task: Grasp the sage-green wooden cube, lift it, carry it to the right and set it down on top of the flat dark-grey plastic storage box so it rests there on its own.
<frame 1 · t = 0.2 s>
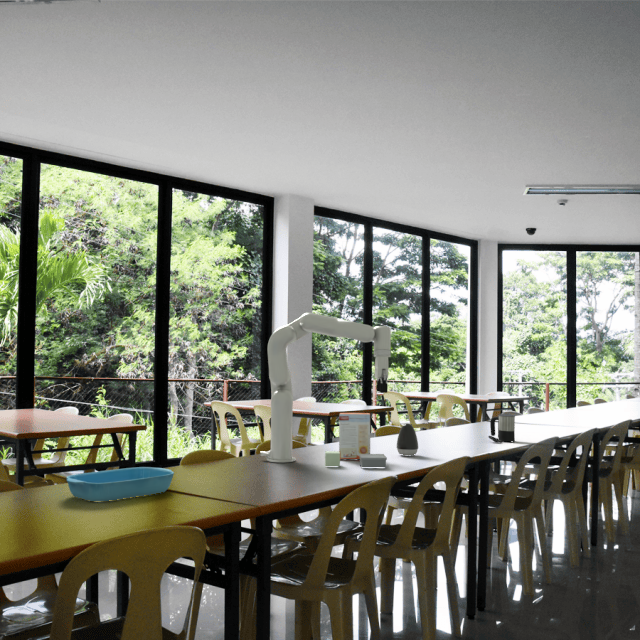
hand: (381, 392, 305), 31 cm above the table, tool pointing down, fingers open, 9 cm apart
cracker box: (354, 460, 309), on the table
casserole dish: (121, 495, 228), on the table
green cube: (332, 466, 289), on the table
grey storage box: (372, 467, 289), on the table
dark grey rounded piece: (407, 456, 322), on the table
milk frother: (501, 442, 378), on the table
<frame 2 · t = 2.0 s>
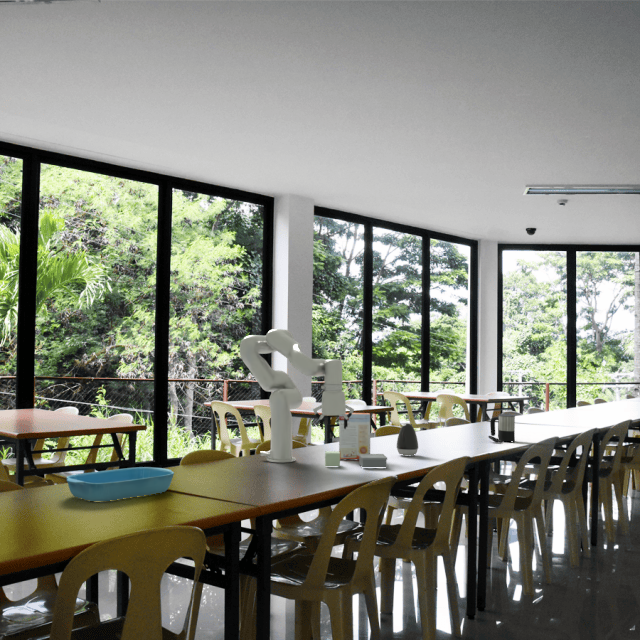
hand: (333, 428, 290), 16 cm above the table, tool pointing down, fingers open, 9 cm apart
nothing on the table moved.
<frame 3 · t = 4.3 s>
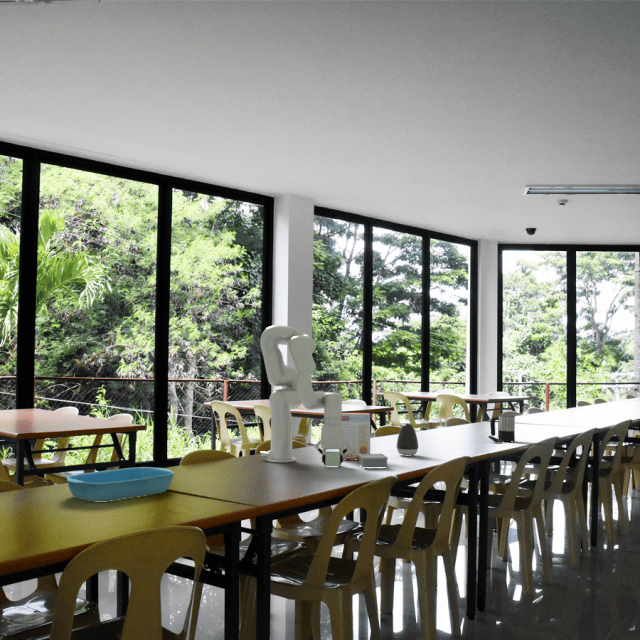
hand: (332, 464, 289), 1 cm above the table, tool pointing down, fingers closed on green cube, 6 cm apart
green cube: (332, 466, 289), on the table, touching gripper
everything else where it was.
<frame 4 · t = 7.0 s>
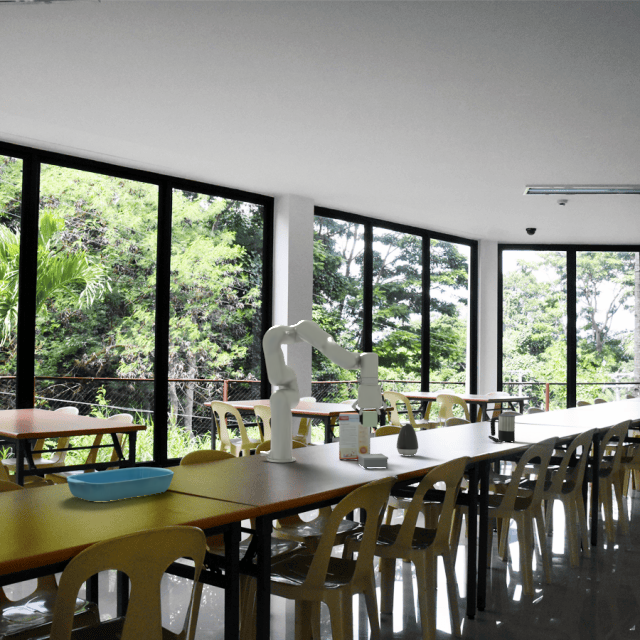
hand: (369, 423, 290), 18 cm above the table, tool pointing down, fingers closed on green cube, 6 cm apart
green cube: (369, 426, 290), point 17 cm above the table, touching gripper
everything else where it was.
when the fingers open (7 cm above the table, at t = 10.0 s): green cube drops 1 cm, resting on grey storage box.
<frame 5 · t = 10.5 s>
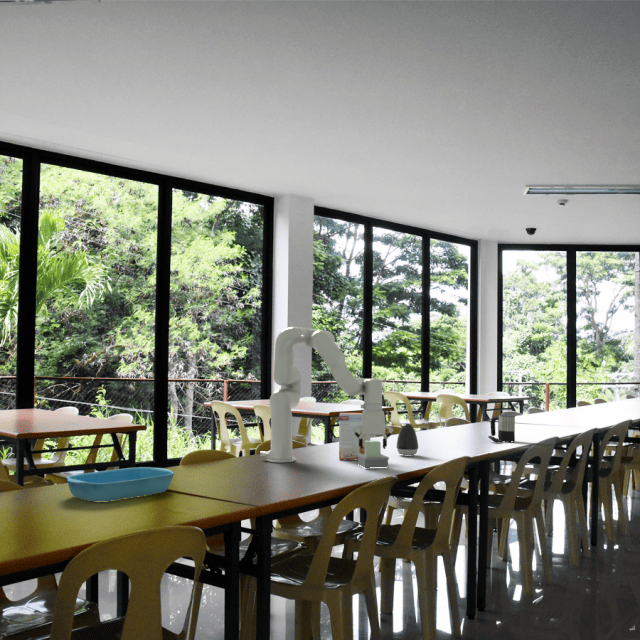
hand: (372, 448, 289), 8 cm above the table, tool pointing down, fingers open, 9 cm apart
green cube: (372, 455, 289), point 5 cm above the table, touching grey storage box
grey storage box: (372, 467, 289), on the table, touching green cube
everything else where it was.
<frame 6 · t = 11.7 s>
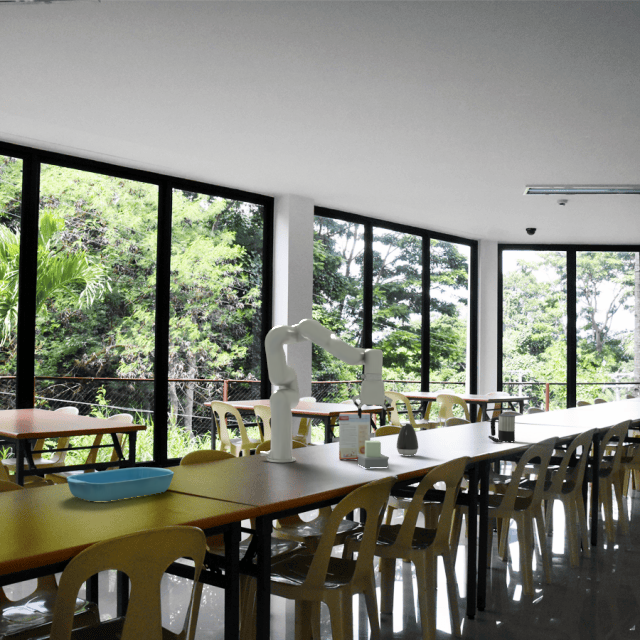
hand: (371, 418, 290), 20 cm above the table, tool pointing down, fingers open, 9 cm apart
green cube: (372, 455, 289), point 5 cm above the table
grey storage box: (372, 467, 289), on the table
everything else where it was.
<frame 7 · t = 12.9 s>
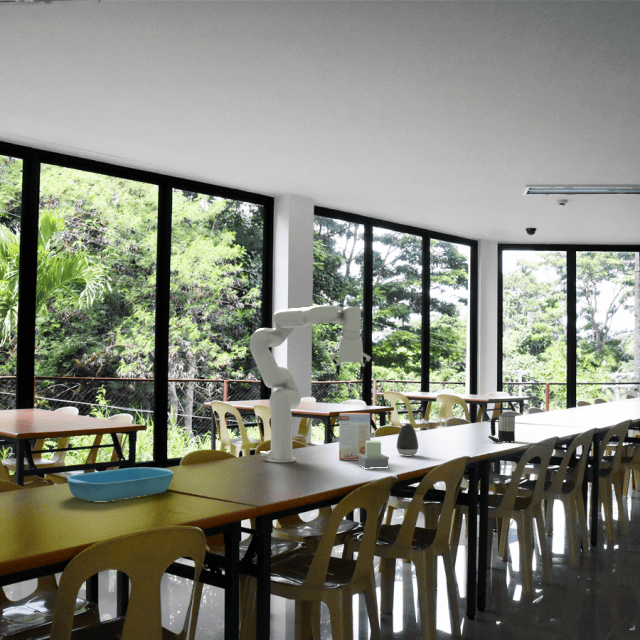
hand: (349, 375, 292), 38 cm above the table, tool pointing down, fingers open, 9 cm apart
nothing on the table moved.
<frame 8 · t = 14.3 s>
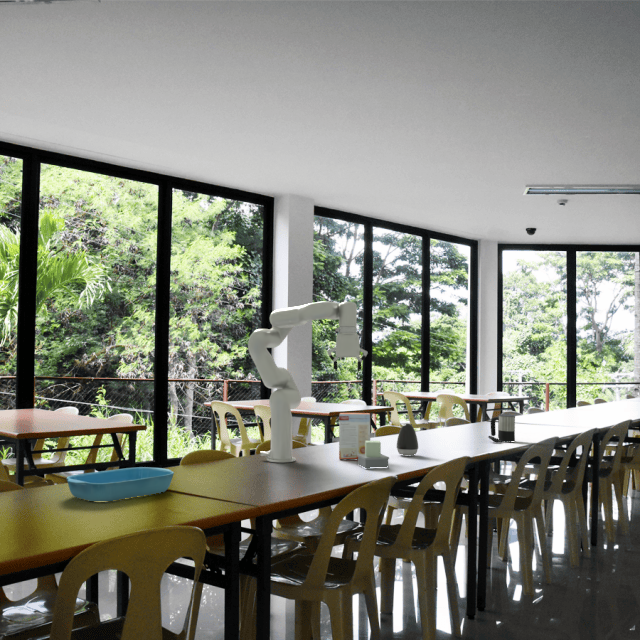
hand: (347, 371, 292), 40 cm above the table, tool pointing down, fingers open, 9 cm apart
green cube: (372, 455, 289), point 5 cm above the table, touching grey storage box
grey storage box: (372, 467, 289), on the table, touching green cube
everything else where it was.
at the end: green cube 0.2 cm from the grey storage box (horizontally); green cube point 4.7 cm above the table; green cube tilted 0° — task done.
